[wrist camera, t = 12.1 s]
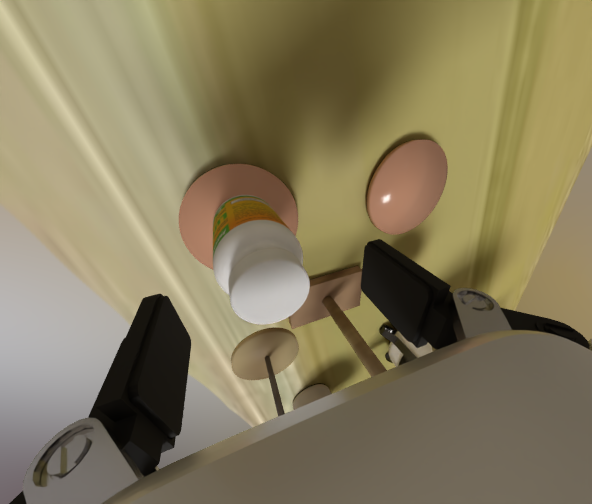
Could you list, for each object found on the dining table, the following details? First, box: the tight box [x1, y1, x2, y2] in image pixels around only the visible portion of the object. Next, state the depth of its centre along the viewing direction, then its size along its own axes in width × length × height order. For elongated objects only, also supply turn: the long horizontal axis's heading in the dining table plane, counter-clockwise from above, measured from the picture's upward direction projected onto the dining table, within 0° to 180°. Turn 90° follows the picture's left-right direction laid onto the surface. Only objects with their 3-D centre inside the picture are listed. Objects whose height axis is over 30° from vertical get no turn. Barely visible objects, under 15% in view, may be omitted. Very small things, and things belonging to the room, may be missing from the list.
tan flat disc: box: [179, 163, 298, 270], centre depth 19 cm, size 10×10×1 cm
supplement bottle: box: [213, 195, 310, 324], centre depth 14 cm, size 5×5×10 cm
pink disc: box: [367, 139, 448, 234], centre depth 23 cm, size 10×10×1 cm
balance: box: [231, 266, 387, 417], centre depth 20 cm, size 24×7×17 cm, turn 95°
